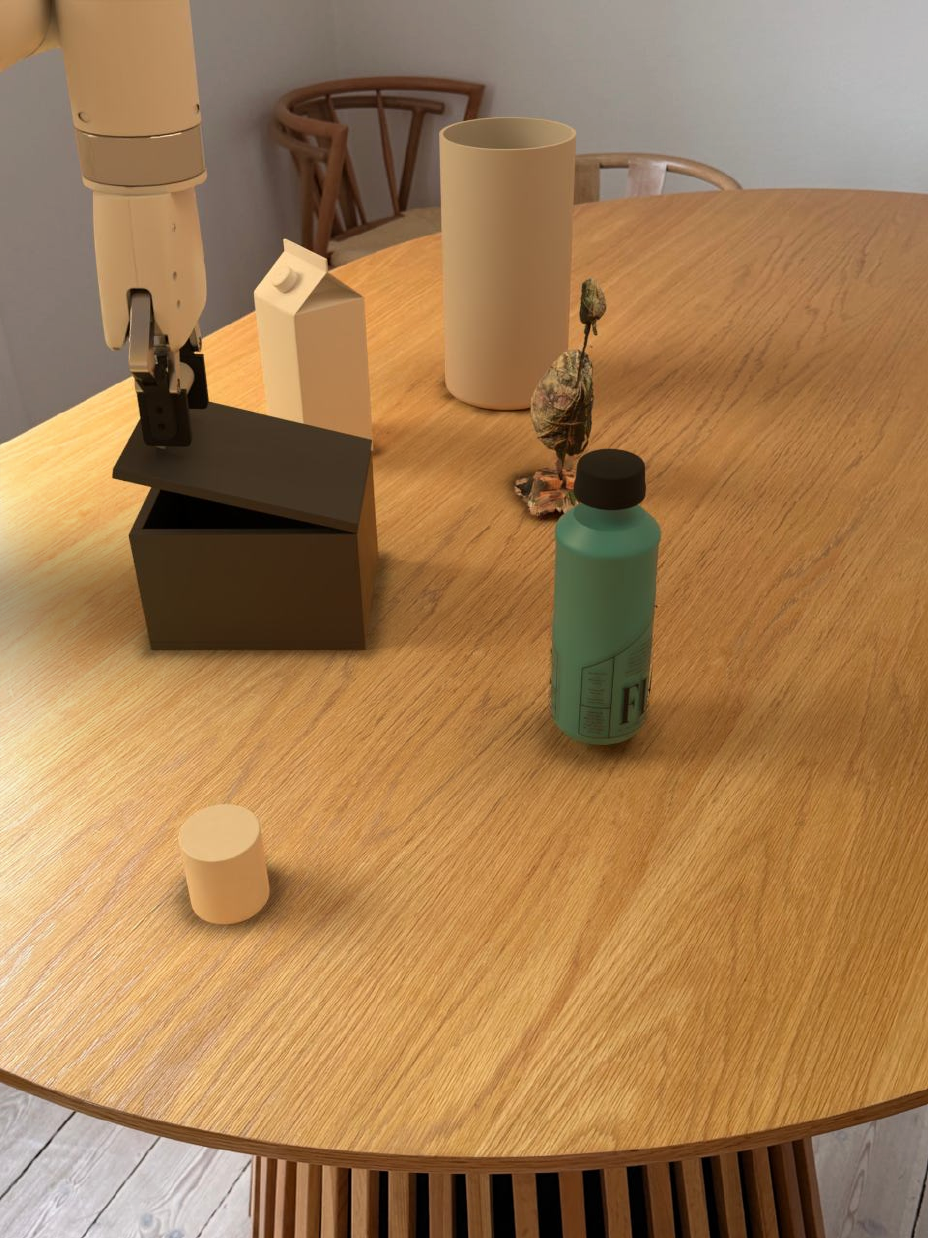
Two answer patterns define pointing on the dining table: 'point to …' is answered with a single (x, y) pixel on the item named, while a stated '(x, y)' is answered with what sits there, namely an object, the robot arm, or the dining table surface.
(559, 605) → the beverage bottle
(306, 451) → the lid
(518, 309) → the cylinder vase
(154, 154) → the robot arm
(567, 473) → the plant with pod
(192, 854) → the cylinder
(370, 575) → the dark hinged wooden chest
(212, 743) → the dining table surface
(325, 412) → the milk carton
